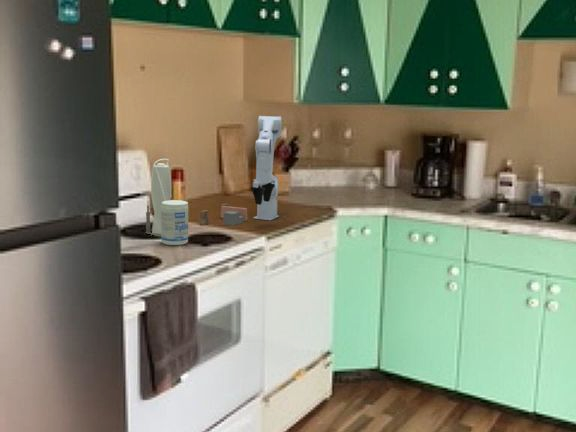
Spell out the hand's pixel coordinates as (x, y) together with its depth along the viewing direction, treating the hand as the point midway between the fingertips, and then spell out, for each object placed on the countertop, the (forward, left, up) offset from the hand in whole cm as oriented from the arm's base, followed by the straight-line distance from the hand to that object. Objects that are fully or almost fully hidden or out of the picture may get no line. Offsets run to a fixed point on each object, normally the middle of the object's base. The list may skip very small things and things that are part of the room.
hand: (262, 202), depth 265 cm
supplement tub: (+41, -15, -10) cm, 45 cm away
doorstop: (+2, -12, -10) cm, 16 cm away
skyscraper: (+32, -27, -10) cm, 43 cm away
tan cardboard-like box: (+2, -21, -9) cm, 23 cm away
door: (-4, -15, -9) cm, 18 cm away
